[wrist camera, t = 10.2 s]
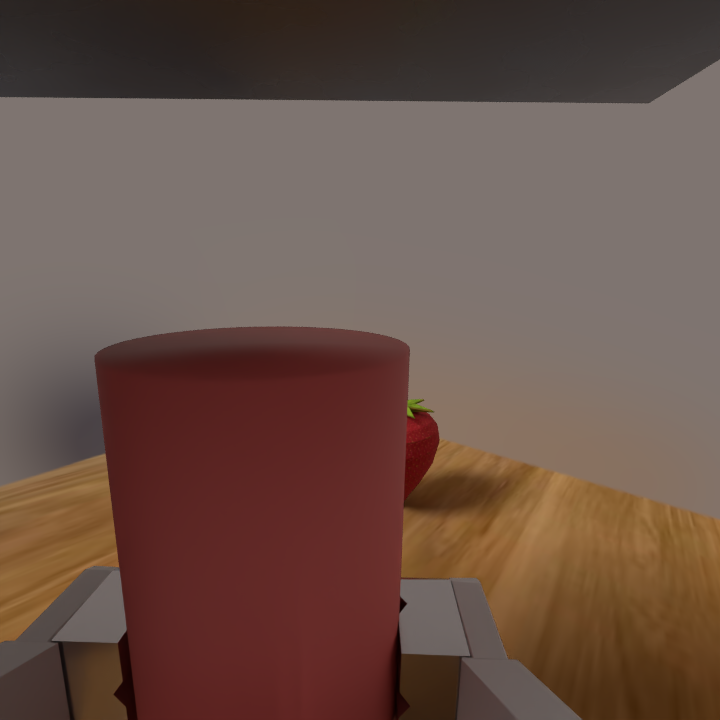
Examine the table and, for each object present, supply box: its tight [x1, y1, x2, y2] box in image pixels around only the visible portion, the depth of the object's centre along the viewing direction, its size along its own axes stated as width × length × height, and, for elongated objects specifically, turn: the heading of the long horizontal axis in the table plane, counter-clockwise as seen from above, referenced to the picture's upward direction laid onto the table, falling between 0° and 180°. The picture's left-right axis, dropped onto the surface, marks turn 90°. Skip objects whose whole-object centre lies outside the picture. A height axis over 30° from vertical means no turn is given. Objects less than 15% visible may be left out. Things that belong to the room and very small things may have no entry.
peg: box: [95, 327, 410, 720], centre depth 7 cm, size 4×4×12 cm
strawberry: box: [404, 399, 439, 501], centre depth 31 cm, size 6×8×10 cm
